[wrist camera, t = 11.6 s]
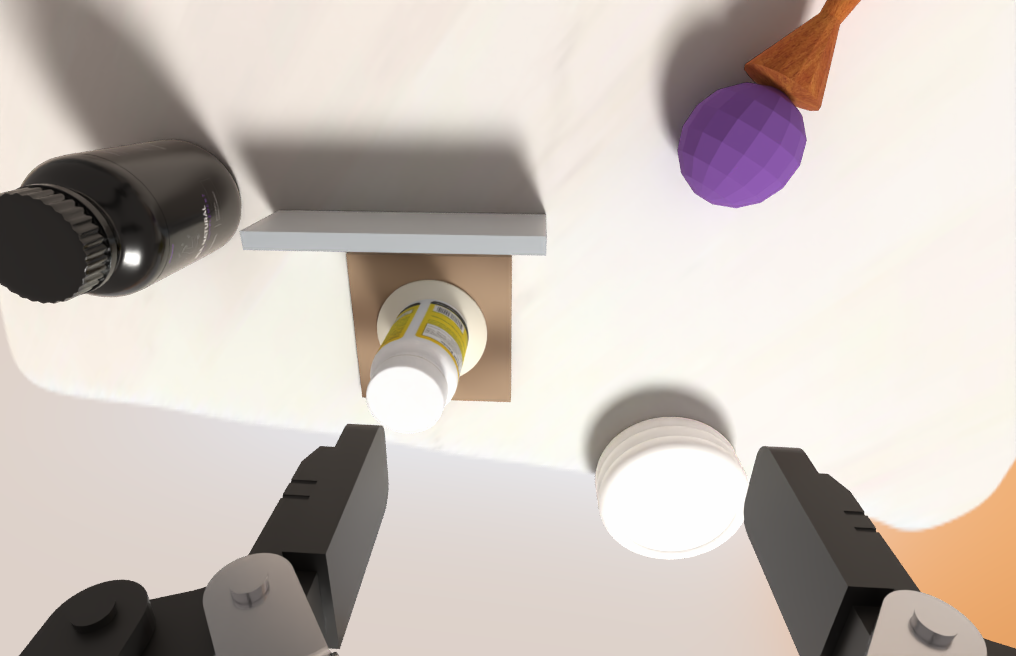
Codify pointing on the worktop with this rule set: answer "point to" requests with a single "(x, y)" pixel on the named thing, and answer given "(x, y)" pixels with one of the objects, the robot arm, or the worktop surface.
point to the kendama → (761, 117)
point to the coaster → (670, 488)
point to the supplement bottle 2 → (417, 366)
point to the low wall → (399, 232)
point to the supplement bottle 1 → (114, 220)
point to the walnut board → (449, 278)
